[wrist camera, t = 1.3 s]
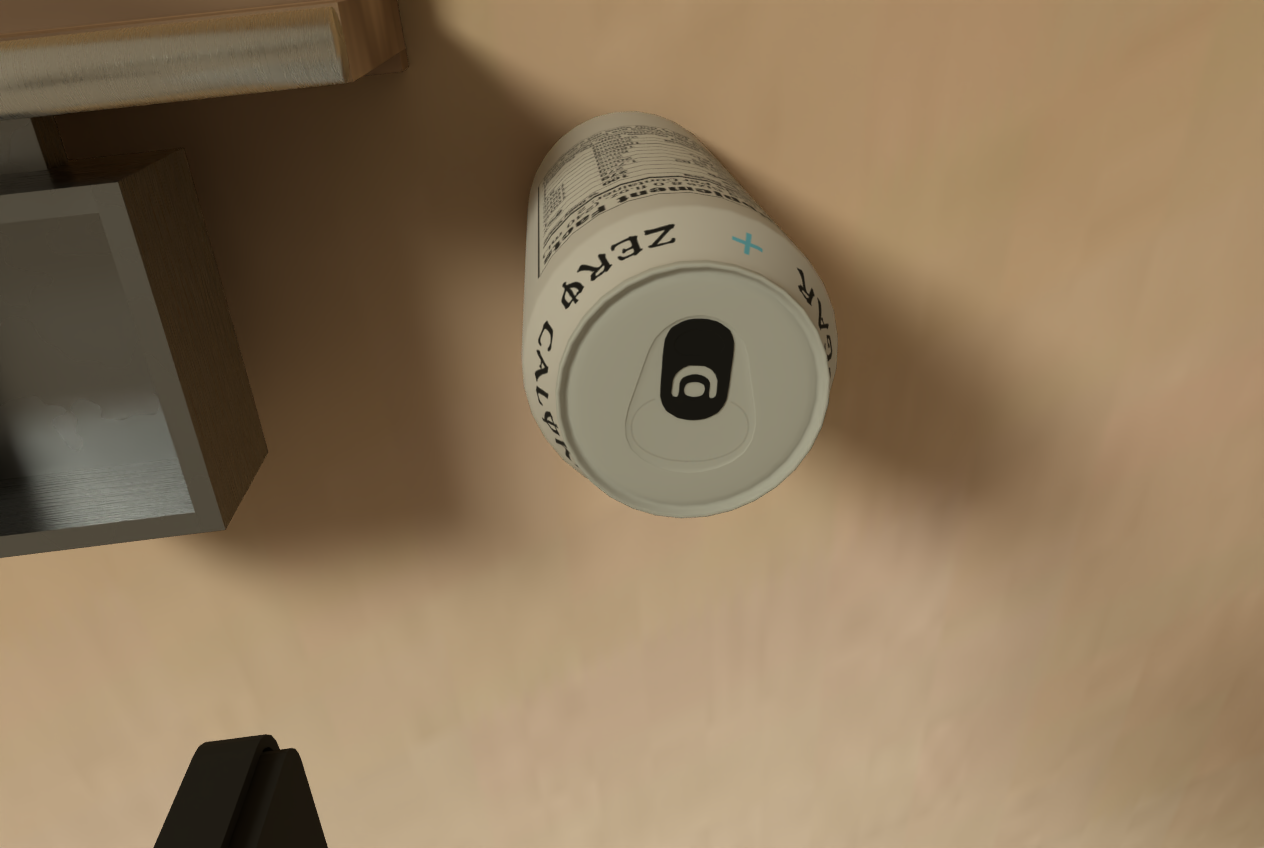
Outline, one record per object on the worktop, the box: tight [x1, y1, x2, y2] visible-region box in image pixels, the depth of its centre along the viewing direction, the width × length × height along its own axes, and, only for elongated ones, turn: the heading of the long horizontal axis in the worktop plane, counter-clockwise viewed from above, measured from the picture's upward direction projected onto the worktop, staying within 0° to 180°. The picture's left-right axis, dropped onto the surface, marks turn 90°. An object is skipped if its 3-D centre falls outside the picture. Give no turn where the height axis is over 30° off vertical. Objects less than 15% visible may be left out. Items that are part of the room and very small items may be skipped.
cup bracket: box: [0, 0, 409, 558], centre depth 25 cm, size 14×20×10 cm
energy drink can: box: [522, 111, 838, 518], centre depth 24 cm, size 6×6×15 cm
